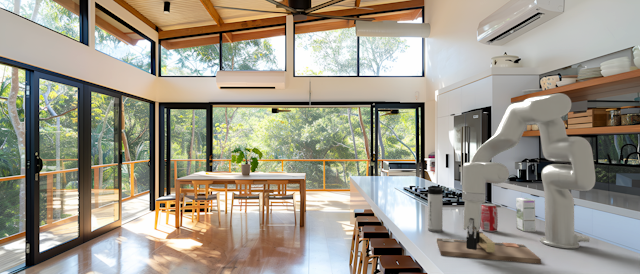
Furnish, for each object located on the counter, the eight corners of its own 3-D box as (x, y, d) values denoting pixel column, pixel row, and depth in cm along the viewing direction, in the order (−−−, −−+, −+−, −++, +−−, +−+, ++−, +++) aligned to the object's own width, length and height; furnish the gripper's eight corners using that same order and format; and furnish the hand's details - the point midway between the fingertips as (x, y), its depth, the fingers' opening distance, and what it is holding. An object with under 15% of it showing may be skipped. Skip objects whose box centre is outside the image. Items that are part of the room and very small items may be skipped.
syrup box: (536, 231, 152) (535, 199, 152) (523, 231, 152) (522, 199, 152) (528, 228, 157) (528, 197, 158) (515, 228, 158) (515, 197, 158)
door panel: (523, 248, 126) (523, 243, 126) (540, 263, 109) (540, 258, 110) (436, 241, 134) (436, 237, 134) (440, 255, 117) (440, 249, 117)
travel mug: (440, 228, 155) (440, 185, 156) (444, 232, 149) (444, 187, 149) (426, 228, 156) (426, 185, 156) (429, 232, 149) (429, 187, 150)
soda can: (496, 229, 155) (496, 203, 156) (498, 233, 149) (498, 206, 149) (479, 228, 158) (479, 202, 158) (481, 231, 151) (481, 205, 151)
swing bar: (472, 240, 129) (472, 231, 130) (481, 240, 129) (481, 231, 129) (485, 253, 114) (485, 242, 114) (495, 253, 113) (495, 242, 114)
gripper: (465, 193, 128) (465, 238, 128) (458, 199, 114) (458, 250, 113) (487, 195, 125) (486, 242, 124) (483, 201, 110) (482, 254, 109)
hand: (473, 245), depth 119 cm, fingers open, 9 cm apart
